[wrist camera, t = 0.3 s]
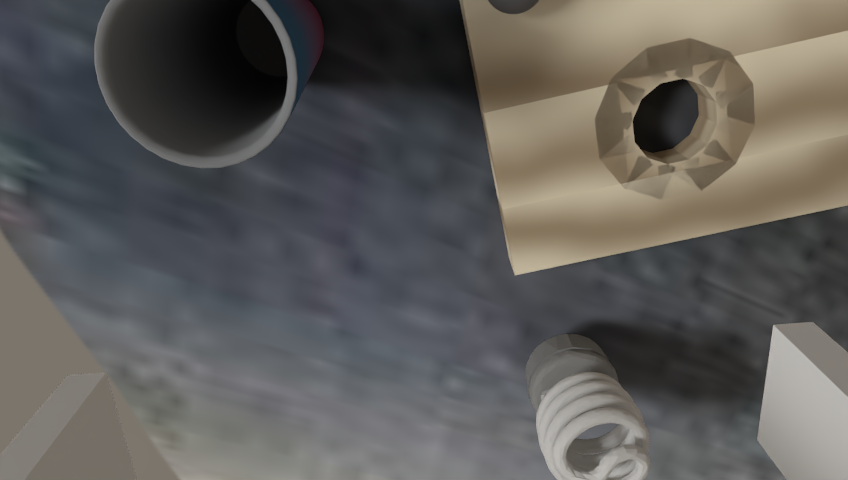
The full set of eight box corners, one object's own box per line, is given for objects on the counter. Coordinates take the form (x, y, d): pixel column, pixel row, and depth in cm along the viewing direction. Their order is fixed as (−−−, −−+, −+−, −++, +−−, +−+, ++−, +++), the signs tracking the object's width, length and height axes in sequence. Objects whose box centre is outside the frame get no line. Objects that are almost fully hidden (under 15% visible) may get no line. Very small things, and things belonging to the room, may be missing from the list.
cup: (361, 5, 36) (329, 24, 22) (311, 117, 38) (254, 199, 24) (242, -58, 35) (129, -79, 21) (197, 62, 37) (68, 116, 23)
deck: (425, -178, 33) (426, -189, 31) (837, -284, 32) (870, -304, 29) (509, 258, 42) (515, 275, 39) (834, 189, 40) (860, 202, 38)
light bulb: (518, 388, 45) (553, 524, 34) (510, 315, 43) (545, 434, 32) (601, 377, 45) (664, 510, 34) (598, 303, 43) (663, 419, 32)
